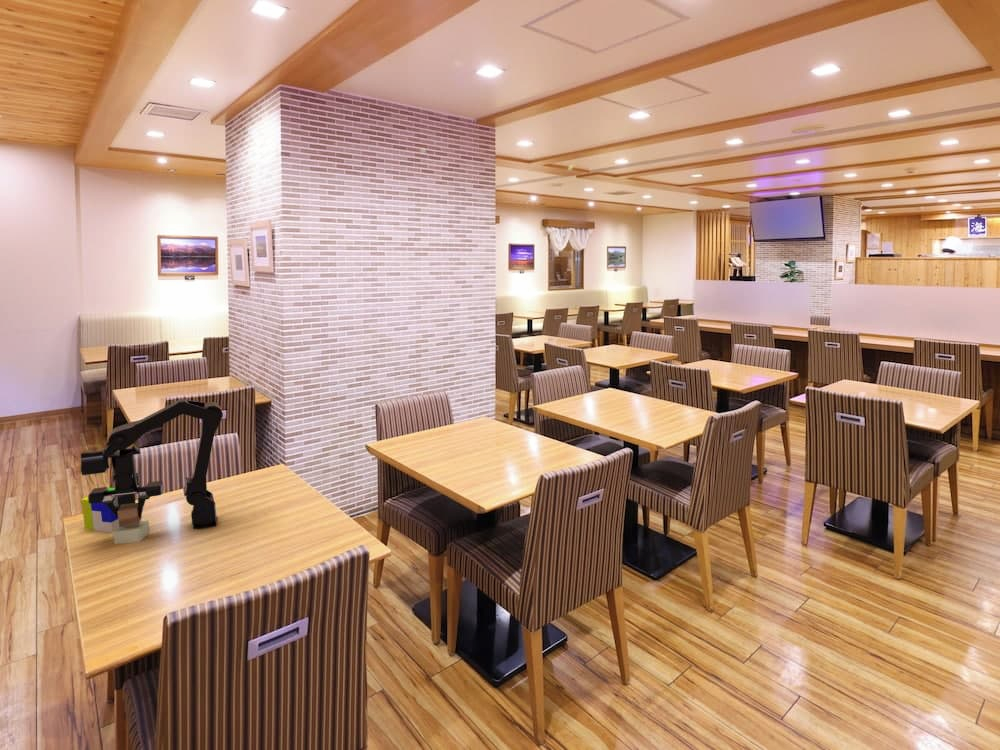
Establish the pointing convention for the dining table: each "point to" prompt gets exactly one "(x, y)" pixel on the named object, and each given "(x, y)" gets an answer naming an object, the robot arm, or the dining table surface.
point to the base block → (131, 533)
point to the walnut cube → (128, 515)
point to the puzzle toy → (103, 514)
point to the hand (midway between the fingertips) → (130, 518)
